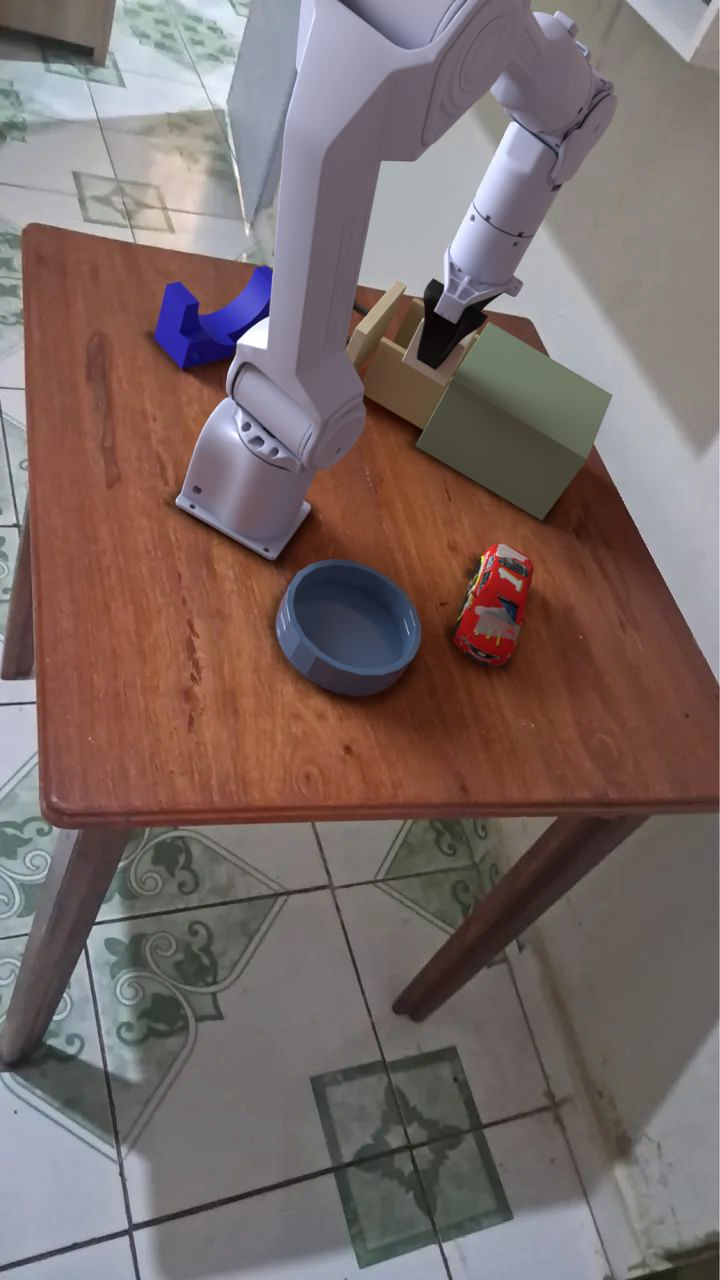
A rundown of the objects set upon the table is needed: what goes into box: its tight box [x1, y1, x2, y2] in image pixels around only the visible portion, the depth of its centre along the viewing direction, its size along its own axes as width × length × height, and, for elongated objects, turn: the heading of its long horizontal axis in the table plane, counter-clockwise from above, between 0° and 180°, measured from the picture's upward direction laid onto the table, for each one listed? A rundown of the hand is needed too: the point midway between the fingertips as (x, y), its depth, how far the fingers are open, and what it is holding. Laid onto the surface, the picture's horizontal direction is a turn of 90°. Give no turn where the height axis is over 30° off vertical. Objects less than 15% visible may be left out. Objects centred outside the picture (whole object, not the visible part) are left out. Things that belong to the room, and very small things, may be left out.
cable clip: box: [153, 265, 273, 370], centre depth 91 cm, size 12×4×6 cm, turn 132°
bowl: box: [275, 558, 422, 697], centre depth 76 cm, size 11×11×3 cm
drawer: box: [346, 279, 481, 431], centre depth 95 cm, size 17×11×7 cm, turn 67°
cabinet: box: [415, 321, 613, 521], centre depth 96 cm, size 15×13×9 cm
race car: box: [451, 543, 534, 667], centre depth 83 cm, size 13×5×4 cm, turn 160°
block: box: [402, 318, 480, 386], centre depth 86 cm, size 4×4×4 cm
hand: (435, 350), depth 86 cm, fingers closed on block, 4 cm apart
